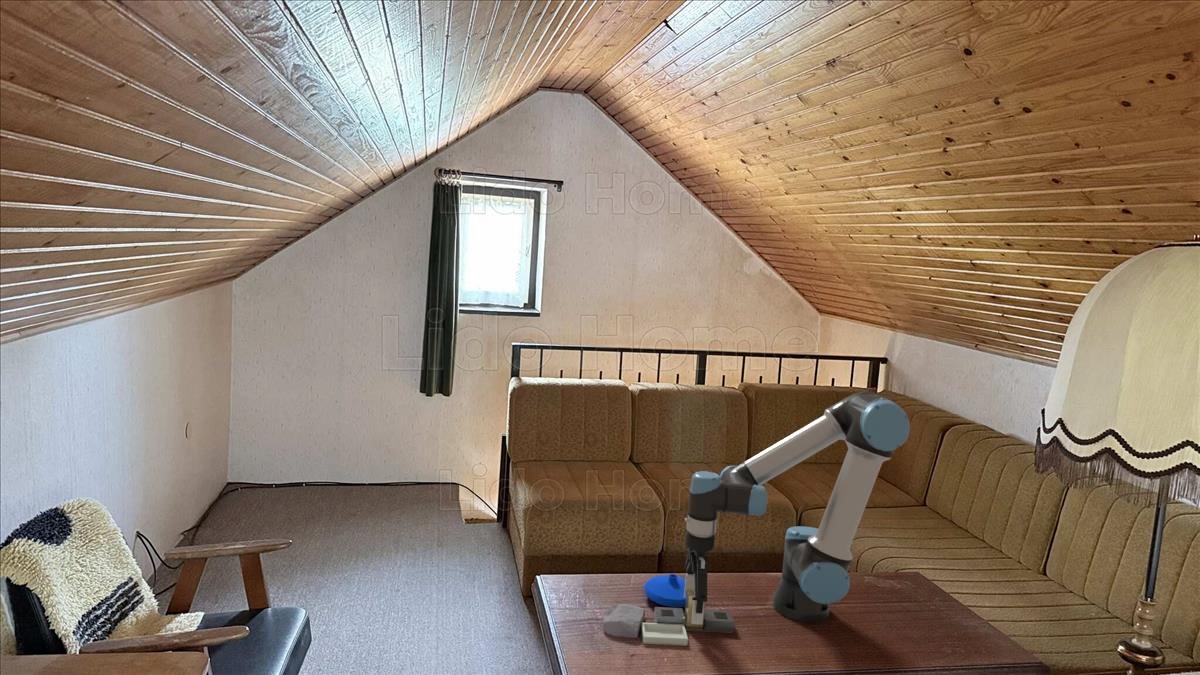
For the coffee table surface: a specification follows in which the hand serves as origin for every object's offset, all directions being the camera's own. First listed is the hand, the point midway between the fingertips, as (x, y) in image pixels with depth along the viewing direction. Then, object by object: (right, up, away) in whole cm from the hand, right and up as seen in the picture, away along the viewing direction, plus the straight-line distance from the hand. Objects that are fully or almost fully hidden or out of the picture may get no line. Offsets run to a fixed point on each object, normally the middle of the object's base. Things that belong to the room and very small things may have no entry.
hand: (692, 610), depth 188 cm
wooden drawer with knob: (0, -4, +1) cm, 4 cm away
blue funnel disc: (-4, -3, +14) cm, 15 cm away
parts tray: (-8, -4, -6) cm, 11 cm away
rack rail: (0, -4, +1) cm, 4 cm away
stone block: (-18, -4, -2) cm, 19 cm away
